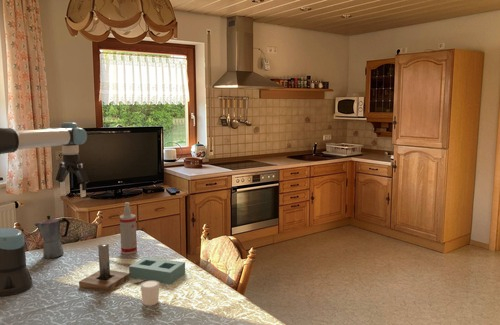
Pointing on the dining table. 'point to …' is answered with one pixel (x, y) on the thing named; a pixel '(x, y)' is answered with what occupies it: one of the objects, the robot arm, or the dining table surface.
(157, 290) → the shot glass
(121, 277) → the socket block
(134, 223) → the white plastic bottle
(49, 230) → the moka pot
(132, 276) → the block
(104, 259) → the steel pin
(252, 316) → the dining table surface
